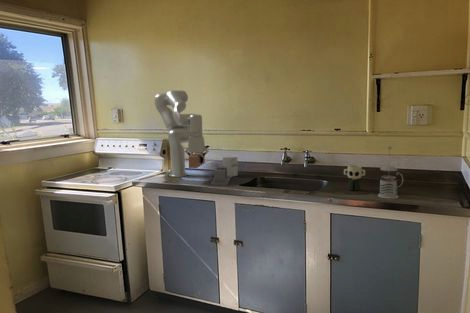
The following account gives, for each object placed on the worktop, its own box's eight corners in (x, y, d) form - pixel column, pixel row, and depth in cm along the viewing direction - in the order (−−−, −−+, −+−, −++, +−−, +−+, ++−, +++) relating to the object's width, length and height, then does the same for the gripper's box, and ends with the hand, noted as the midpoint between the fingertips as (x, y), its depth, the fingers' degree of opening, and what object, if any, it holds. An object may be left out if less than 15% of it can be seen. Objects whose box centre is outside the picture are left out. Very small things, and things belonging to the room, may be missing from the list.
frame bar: (188, 167, 231) (188, 156, 230) (197, 162, 248) (197, 152, 247) (196, 168, 230) (196, 156, 229) (204, 163, 248) (204, 152, 246)
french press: (380, 193, 195) (381, 144, 192) (404, 195, 189) (406, 145, 186) (375, 197, 187) (376, 146, 184) (400, 199, 181) (402, 147, 178)
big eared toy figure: (342, 190, 203) (343, 166, 201) (344, 187, 209) (344, 164, 208) (364, 191, 199) (365, 167, 197) (365, 189, 205) (365, 165, 204)
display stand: (210, 185, 225) (210, 171, 224) (215, 178, 247) (215, 166, 246) (227, 185, 224) (227, 171, 223) (230, 178, 246) (230, 165, 245)
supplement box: (231, 177, 249) (230, 158, 247) (222, 176, 254) (222, 157, 252) (238, 175, 255) (237, 156, 253) (229, 174, 259) (228, 156, 258)
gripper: (181, 135, 233) (182, 164, 236) (209, 135, 232) (209, 164, 235) (184, 133, 241) (184, 162, 243) (210, 133, 239) (211, 162, 242)
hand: (196, 162), depth 239 cm, fingers closed on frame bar, 5 cm apart
